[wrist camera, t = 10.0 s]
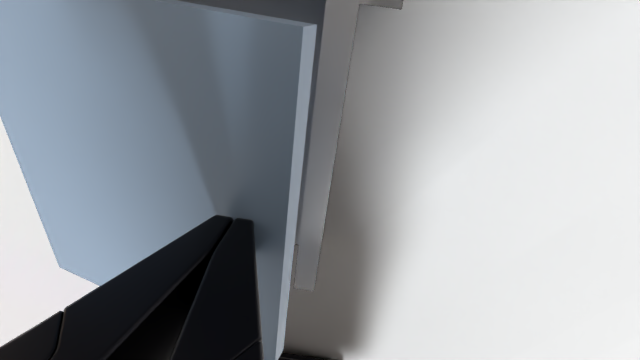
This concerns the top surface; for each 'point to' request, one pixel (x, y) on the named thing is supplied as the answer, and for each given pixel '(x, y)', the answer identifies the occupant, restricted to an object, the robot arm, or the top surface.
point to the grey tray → (316, 107)
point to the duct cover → (158, 130)
